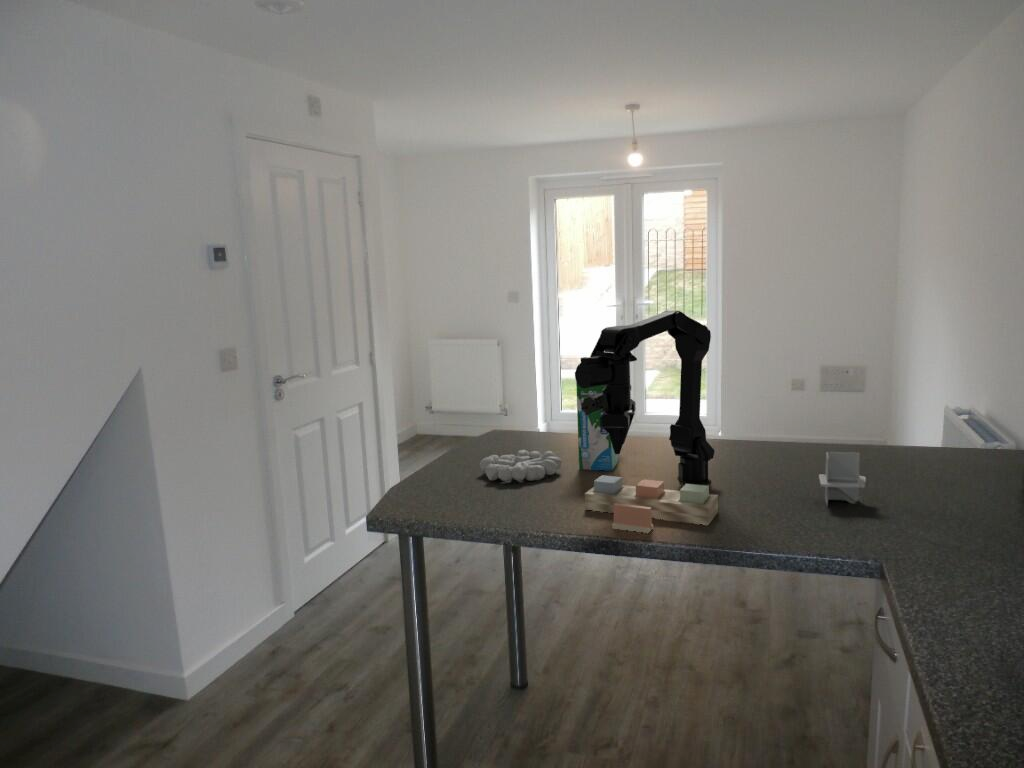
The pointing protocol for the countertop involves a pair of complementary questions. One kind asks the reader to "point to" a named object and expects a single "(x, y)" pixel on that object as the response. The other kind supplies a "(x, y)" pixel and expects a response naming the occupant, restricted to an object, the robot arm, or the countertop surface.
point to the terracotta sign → (632, 518)
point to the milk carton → (593, 436)
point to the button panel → (656, 505)
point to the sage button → (694, 493)
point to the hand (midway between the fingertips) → (619, 448)
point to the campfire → (521, 466)
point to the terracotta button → (650, 489)
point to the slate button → (608, 484)
